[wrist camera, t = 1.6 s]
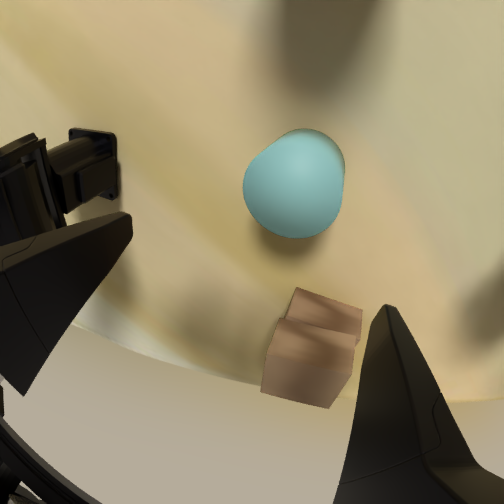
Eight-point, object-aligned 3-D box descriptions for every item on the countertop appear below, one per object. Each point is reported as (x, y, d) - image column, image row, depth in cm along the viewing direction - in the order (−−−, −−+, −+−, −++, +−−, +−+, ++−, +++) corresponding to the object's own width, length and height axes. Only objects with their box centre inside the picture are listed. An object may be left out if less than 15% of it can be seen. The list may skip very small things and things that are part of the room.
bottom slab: (279, 328, 27) (269, 356, 24) (296, 285, 23) (287, 315, 21) (336, 347, 26) (331, 376, 23) (362, 308, 23) (360, 339, 20)
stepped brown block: (271, 360, 25) (260, 392, 22) (279, 317, 21) (266, 353, 18) (335, 375, 23) (328, 408, 20) (356, 335, 20) (351, 374, 17)
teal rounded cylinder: (262, 188, 20) (236, 221, 16) (277, 119, 16) (251, 132, 13) (331, 211, 19) (324, 250, 15) (354, 142, 16) (355, 164, 12)
